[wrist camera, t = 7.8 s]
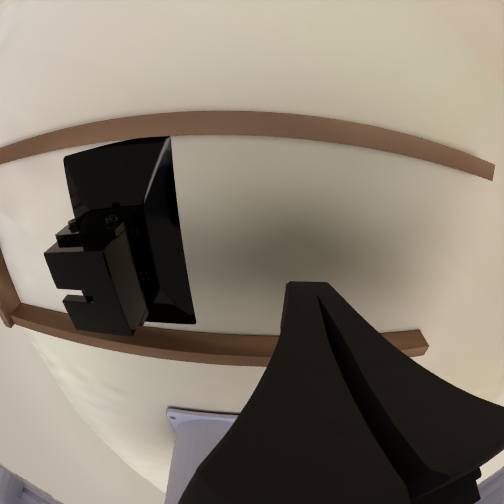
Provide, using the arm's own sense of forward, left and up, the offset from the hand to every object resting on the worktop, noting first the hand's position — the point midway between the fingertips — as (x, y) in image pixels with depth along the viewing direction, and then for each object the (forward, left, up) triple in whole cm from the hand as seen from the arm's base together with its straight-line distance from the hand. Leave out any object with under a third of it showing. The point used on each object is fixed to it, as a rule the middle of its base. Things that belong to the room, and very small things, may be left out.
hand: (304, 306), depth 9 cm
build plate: (0, +8, -4) cm, 9 cm away
